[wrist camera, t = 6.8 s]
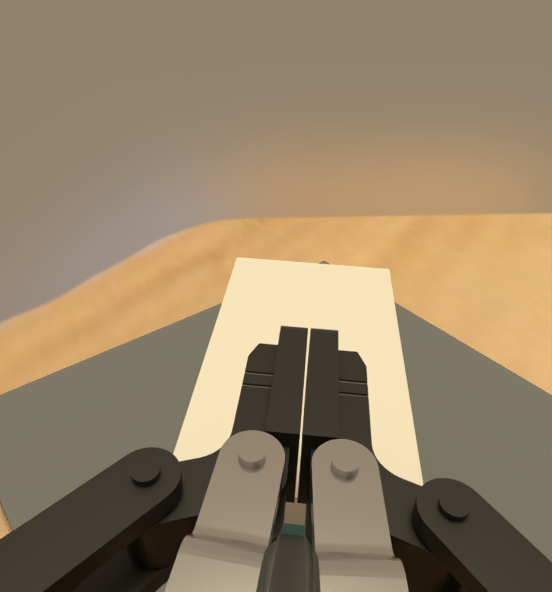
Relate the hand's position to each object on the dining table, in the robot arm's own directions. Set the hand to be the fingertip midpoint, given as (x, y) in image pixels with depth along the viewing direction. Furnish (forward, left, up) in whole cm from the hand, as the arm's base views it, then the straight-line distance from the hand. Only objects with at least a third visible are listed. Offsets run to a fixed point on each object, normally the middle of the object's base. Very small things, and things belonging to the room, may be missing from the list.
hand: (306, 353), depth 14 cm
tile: (+1, +1, -6) cm, 6 cm away
